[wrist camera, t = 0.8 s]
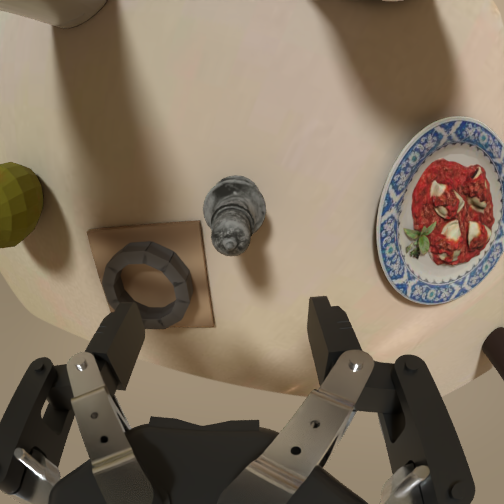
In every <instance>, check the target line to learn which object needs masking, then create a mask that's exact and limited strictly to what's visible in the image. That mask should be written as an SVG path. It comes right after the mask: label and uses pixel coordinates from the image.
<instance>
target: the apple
mask: <svg viewBox="0 0 504 504" xmlns="http://www.w3.org/2000/svg"><path fill="white" fill-rule="evenodd" d="M42 208H43V194H42V188H41V184H40V182H39V180H38V178H37V176H36V175H35V173H34V172H33V171H32V170H31V169H29V168H27V167H24V166H22V165H19V164H16V163H13V162H8V163H4V164H0V248H6V247H13V246H16V245H17V244H18V243H20V242H21V241H22V240H23V239H25V238H26V237H27V236H28V235H29V234H30V233H31V232H32V231H33V230H34V229H35V226H36V224H37V222H38V220H39V217H40V215H41V212H42Z"/></svg>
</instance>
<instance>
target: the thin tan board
mask: <svg viewBox="0 0 504 504" xmlns="http://www.w3.org/2000/svg"><path fill="white" fill-rule="evenodd" d="M87 235H88V239H89V243H90V247H91V250H92V254H93V258H94V261H95V265H96V268H97V271H98V275H99V278H100V281H101V284H102V287H103V290H104V293H105V296H106V299H107V302H108V305H109V308H110V311H111V312H114V311H115V310H116V308H117V306H118V305H119V303H120V302H135V303H136V304H137V306H138V309H139V312H140V315H141V319H142V322H143V325H144V328H145V329H166V328H168V327H213V326H214V320H213V313H212V307H211V300H210V293H209V286H208V279H207V272H206V265H205V257H204V249H203V241H202V233H201V224H200V220H199V221H184V222H170V223H157V224H144V225H132V226H121V227H110V228H100V229H90V230H88V231H87Z"/></svg>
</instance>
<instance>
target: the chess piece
mask: <svg viewBox="0 0 504 504" xmlns="http://www.w3.org/2000/svg"><path fill="white" fill-rule="evenodd" d="M203 212H204V218H205V220H206V222H207V224H208V226H209V227H210V228H211V230H212V235H211V239H212V243H213V245H214V247H215V249H216V250H217V251H218V252H220V253H221V254H223V255H226V256H237V255H240V254H241V253H243V252H244V251H245V250H246V249H247V248H248V246H249V244H250V239H251V236H252V234H253V233H255V232H256V231H257V230H258V229H259V228H260V226H261V225H262V223H263V221H264V219H265V214H266V205H265V201H264V198H263V196H262V194H261V193H260V192H259V189H258V187H257V186H256V185H255V183H253V182H252V181H251V180H250V179H248V178H245V177H243V176H229V177H226V178H224V179H222V180H221V181H219V182H218V183H217V184H216V186H214V187H213V188H212V189H211V190H210V192H209V193H208V194H207V196H206V199H205V201H204V207H203Z"/></svg>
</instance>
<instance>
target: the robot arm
mask: <svg viewBox="0 0 504 504" xmlns="http://www.w3.org/2000/svg"><path fill="white" fill-rule="evenodd" d="M106 1H107V0H0V10H1V11H5V12H9V13H13V14H17V15H21V16H24V17H28V18H31V19H35V20H38V21H41V22H44V23H47V24H50V25H53V26H56V27H59V28H71V27H75V26H78V25H80V24H82V23H84V22H85V21H87V20H88V19H90V18H91V17H92V16H93V15H95V14H96V13H97V12H98V11H99V10H100V9H101V8H102V6H103V5H104V4H105V2H106ZM307 331H308V338H309V342H310V346H311V350H312V354H313V358H314V362H315V367H316V371H317V375H318V379H319V384H320V388H319V389H318V390H316V389H314V390H313V391H312V392H311V393H310V394H309V395H308V397H307V398H306V400H305V401H304V402H303V404H302V405H301V406H300V408H299V409H298V410H297V412H296V413H295V414H294V416H293V417H292V418H291V419H290V421H289V422H288V423H287V425H286V426H285V427H284V428H283V430H282V431H281V432H280V433H278V432H276V431H273V430H270V429H266V428H261V427H259V420H240V421H239V420H238V421H227V422H222V423H217V424H212V425H206V426H199V425H196V424H192V423H188V422H185V421H182V420H178V419H173V418H162V417H152V416H151V418H150V422H149V424H144V425H140V426H137V427H134V428H131V427H130V425H129V423H128V421H127V419H126V417H125V415H124V413H123V411H122V409H121V407H120V405H119V402H118V400H117V398H116V396H115V395H114V394H115V391H116V389H117V390H126V387H127V384H128V381H129V379H130V376H131V373H132V371H133V368H134V365H135V363H136V360H137V357H138V355H139V352H140V350H141V347H142V345H143V342H144V339H145V328H144V325H143V322H142V319H141V315H140V312H139V309H138V306H137V304H136V303H135V302H120V303H119V305H118V306H117V308H116V310H115V311H114V312H111V313H110V314H109V315H107V316H106V317H105V318H104V319H103V321H102V322H101V324H100V327H99V328H98V329H97V331H96V333H95V334H94V336H93V338H92V340H91V341H90V343H89V345H88V347H87V349H86V350H85V352H81V353H77V354H75V355H74V356H72V357H71V358H70V359H69V361H68V363H67V364H65V365H57V366H54V365H53V363H52V362H51V360H50V359H48V358H46V357H43V358H38V359H36V360H35V361H33V362H32V363H31V364H30V366H29V368H28V369H27V371H26V373H25V375H24V376H23V378H22V380H21V382H20V384H19V386H18V387H17V390H16V391H15V393H14V395H13V397H12V399H11V401H10V403H9V405H8V407H7V409H6V411H5V413H4V415H3V418H2V420H1V422H0V490H1V491H2V492H4V493H5V494H7V495H8V496H10V497H11V498H13V499H14V500H16V501H18V502H19V503H21V504H368V503H367V502H366V501H365V500H363V499H362V498H361V497H359V496H358V495H356V494H355V493H354V492H352V491H351V490H350V489H348V488H347V487H346V486H344V485H343V484H342V483H340V482H339V481H338V480H337V479H335V478H334V477H333V476H332V475H331V474H329V473H328V472H327V471H326V470H324V467H325V466H326V464H327V463H328V461H329V459H330V458H331V456H332V455H333V453H334V451H335V449H336V447H337V446H338V444H339V442H340V440H341V439H342V437H343V435H344V433H345V432H346V430H347V428H348V426H349V425H350V423H351V421H352V419H353V417H354V415H355V414H356V412H357V411H366V412H378V416H379V420H380V424H381V427H382V431H383V435H384V439H385V443H386V447H387V451H388V456H389V460H390V464H391V468H392V473H393V475H392V476H391V478H390V479H388V480H387V481H386V482H385V484H384V485H383V488H382V491H381V501H380V504H470V503H471V501H472V500H473V498H474V494H475V485H474V481H473V478H472V475H471V472H470V469H469V466H468V463H467V461H466V457H465V455H464V452H463V449H462V446H461V444H460V441H459V438H458V436H457V433H456V431H455V428H454V426H453V423H452V421H451V418H450V416H449V414H448V411H447V409H446V406H445V404H444V402H443V400H442V397H441V395H440V393H439V391H438V388H437V386H436V384H435V382H434V380H433V378H432V376H431V374H430V372H429V369H428V367H427V365H426V364H425V362H424V361H423V360H422V359H421V358H419V357H417V356H414V355H403V356H400V357H399V358H398V359H397V360H396V362H395V364H392V363H381V362H376V361H374V360H373V358H372V357H371V356H370V355H369V354H368V353H366V352H364V351H362V349H361V347H360V344H359V342H358V339H357V337H356V335H355V332H354V330H353V328H352V326H351V323H350V322H349V319H348V317H347V314H346V312H345V311H343V310H342V309H341V308H340V307H339V306H332V307H331V305H330V303H329V300H328V298H327V296H319V297H310V299H309V310H308V323H307ZM45 400H47V401H48V402H49V404H48V407H47V409H46V412H45V414H44V417H43V419H42V418H41V409H42V407H43V405H44V402H45ZM74 416H75V417H76V420H77V423H78V426H79V430H80V433H81V436H82V438H83V441H84V444H85V447H86V449H87V452H88V455H89V457H90V459H89V460H88V461H86V462H85V463H83V464H82V465H81V466H80V467H78V468H77V469H75V470H74V471H72V472H71V473H69V474H68V475H66V476H65V477H64V478H62V479H60V472H59V470H58V466H59V462H60V458H61V456H62V452H63V449H64V446H65V443H66V439H67V436H68V433H69V430H70V427H71V424H72V422H73V419H74Z"/></svg>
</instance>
